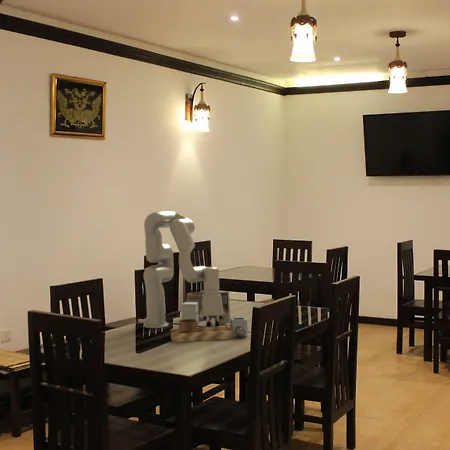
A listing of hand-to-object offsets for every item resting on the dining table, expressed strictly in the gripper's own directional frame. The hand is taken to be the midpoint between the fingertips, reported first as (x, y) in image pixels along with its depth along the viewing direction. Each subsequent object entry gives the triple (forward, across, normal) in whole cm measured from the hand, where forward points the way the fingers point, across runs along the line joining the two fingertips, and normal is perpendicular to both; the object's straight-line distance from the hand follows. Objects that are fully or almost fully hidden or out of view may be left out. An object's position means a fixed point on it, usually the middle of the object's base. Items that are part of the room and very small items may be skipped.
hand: (212, 329), depth 342 cm
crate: (0, -13, -13) cm, 18 cm away
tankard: (+2, -2, +41) cm, 41 cm away
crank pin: (+1, 0, 0) cm, 1 cm away
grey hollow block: (+1, +11, -15) cm, 18 cm away
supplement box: (+2, -10, +14) cm, 17 cm away
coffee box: (+2, +7, +23) cm, 24 cm away
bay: (+1, -7, -13) cm, 15 cm away
